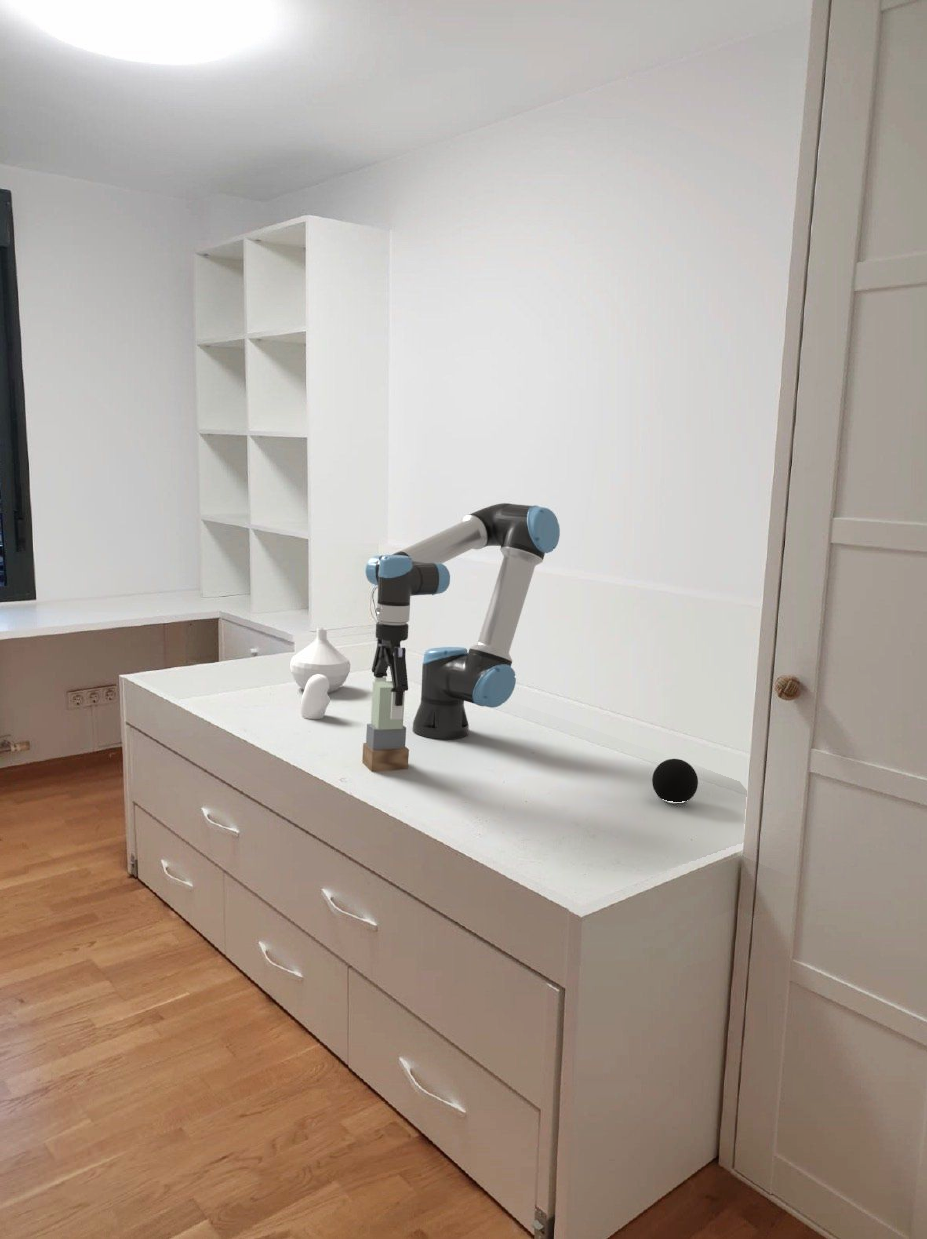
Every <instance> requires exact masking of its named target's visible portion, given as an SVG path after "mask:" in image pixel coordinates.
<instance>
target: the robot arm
mask: <svg viewBox="0 0 927 1239" xmlns="http://www.w3.org/2000/svg"><path fill="white" fill-rule="evenodd" d="M560 532H561V529H560V523H559V521H558V516H556V514H555V513H554V512H553V510H551V509H549V508H548V507H545V506H544V507H542V506H539V505H526V504H515V503H508V502H507V503H506V502H504V503H497V504H492V505H490V506H486V507H483V508H481V509H479V510H477V511H473V512H471V513H469V514H467V515H465V516H464V517H463V518H462V519H461V520H460V522H459V523H457V524H456V525H455V524H454V525H453V526H450V527H449V528H446V529H444V530H442V531H440V532H438V533H436V534H433V535H432V536H429V537H427V538H424V539H422V540H420V541H418V542H416V543H414V544H412V545H410V546H408V547H406V548H404V549H401V550H399V551H397V552H395V553H393V554H384V555H374V556H372V557H371V558H370V559H369V560H368V561H367V563H366V565H365V576H366V579H367V581H368V582H369V583H370V584H372V585H374V586H377V607H375V608H374V611H375V613H376V620H377V622H376V624H375V638H377V641H376V642H377V644H376V648H375V649H376V650H375V654H374V658H373V662H372V667H371V673H373V676H374V681H373V682H382V681H387V677H388V672H387V671H388V668H389V670H390V678H391V681H392V683H393V688H392V689H391V692H392V698H391V716H390V719H403V720H404V716H403V704H404V705H405V698H404V692H405V693H406V691H407V692H408V690H409V684H408V683H409V682H408V669H407V661H406V652H407V651H406V649H407V648H406V647H401V643H402V642H403V641H406V640H408V638H409V626H410V625H409V624H408V622H409V621H410V615H411V614H410V611H411V610H410V609H411V597H412V596H428V595H430V596H435V595H440V594H443V593H445V592H446V591H447V589H448V588H449V586H450V584H451V582H450V581H451V575H450V570H449V569H448V567H447V566H446V565H445V563H446V562H448V561H450V560H452V559H454V558H456V557H458V556H460V555H462V554H464V553H466V552H469V551H471V550H477V551H478V550H481V549H483V548H486V547H491V546H493V547H494V546H495V547H497V546H498V547H500V552H501V554H502V555H503V559H502V561H501V565H500V567H499V568H500V569H499V572H498V574H497V578H496V581H495V584H494V588H493V591H492V594H491V598H490V600H489V601H490V602H489V604H488V608H487V611H486V614H485V617H484V621H483V624H482V627H481V631H480V633H479V637H478V641H477V643H476V644H473V646H471V647H470V648H469V649H467V648H466V647H459V646H447V647H446V646H443V647H442V646H439V647H432V648H429V649H427V650H425V652H424V654H423V661H422V671H421V691H420V693H421V694H420V695H421V696H420V703H419V705H418V709H417V712H416V714H415V716H414V718H413V721H412V731H413V733H414V734H417V735H419V736H422V737H426V738H430V739H438V740H439V739H442V740H453V739H460V738H461V739H462V738H463V737H466V736H468V735H469V728H470V726H469V721H468V717H467V713H466V709H465V702H467V703H470V704H474V705H477V706H480V707H486V708H490V709H491V708H494V709H495V708H497V707H500V706H502V705H503V704H505V703H506V702H507V701H508V700H509V698H511V696H512V694H513V692H514V690H515V687H516V683H517V682H516V680H517V678H516V672H515V670H514V668H513V667H512V664H513V659H512V657H511V655H510V650H511V648H512V647H511V646H512V644H513V640H514V637H515V633H516V632H517V631H516V630H517V627H518V624H519V621H520V617H521V614H522V611H523V607H524V604H525V600H526V597H527V594H528V592H529V587H530V584H531V581H532V578H533V575H534V571H535V568H536V566H537V565H540V564H541V563H543V562H544V559H545V554H549V553H552V552H553V551H554V550H555V549H556V548H557V546H558V544H559V541H560V537H561V536H560V535H561V533H560ZM400 685H401V686H400Z"/></svg>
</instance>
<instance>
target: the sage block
mask: <svg viewBox="0 0 927 1239" xmlns="http://www.w3.org/2000/svg"><path fill="white" fill-rule="evenodd" d="M400 686H401V685H400ZM392 688H393V683H392V680H389V681H387V680H386V681H382V682H374V681H372V692H371V693H372V695H371V696H372V697H371V714H370V715H371V718H370V724H373V725H374V726H375V727H376V728H377V729H378V730H384V729H403V726H404V718H403V719H390V716H391V698H392V692H391V689H392ZM405 695H406V691H405V692H404V699H405ZM404 710H405V703H404V704H403V717H405V716H404V714H405V711H404Z"/></svg>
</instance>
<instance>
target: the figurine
mask: <svg viewBox="0 0 927 1239" xmlns="http://www.w3.org/2000/svg"><path fill="white" fill-rule="evenodd" d="M328 689H329V681H328V679H327V677H325V676H324V675H321V674H317V675H314V676H312V677H311V678H310V679H309V680H308V682H307V684H306V686H305V690H303V692H302V693H303V694H302V696H301V700H300V714H301V717H302V718H304V719H307V720H318V719H320V720H321V719H323V718H324V717H325V714H326V711H327V708H328V706H329V704H330V702H331V697H330V696H329V695H328V693H327V692H328Z"/></svg>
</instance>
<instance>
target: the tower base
mask: <svg viewBox="0 0 927 1239" xmlns="http://www.w3.org/2000/svg"><path fill="white" fill-rule="evenodd" d="M362 745H363V746H362V760H361V763H362V764H363V765H364V766H365V767H366V768H367V769H368V770H369V772H371V773H372V772H385V771H387V772H388V771H401V770H403V771H404V770H408V768H409V758H410V757H409V756H410V749H409V748H408V747H407V746H405V748H401V749H385V750H372V749H371V748H370V747H369V746H367V745H366V742H363V743H362Z"/></svg>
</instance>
